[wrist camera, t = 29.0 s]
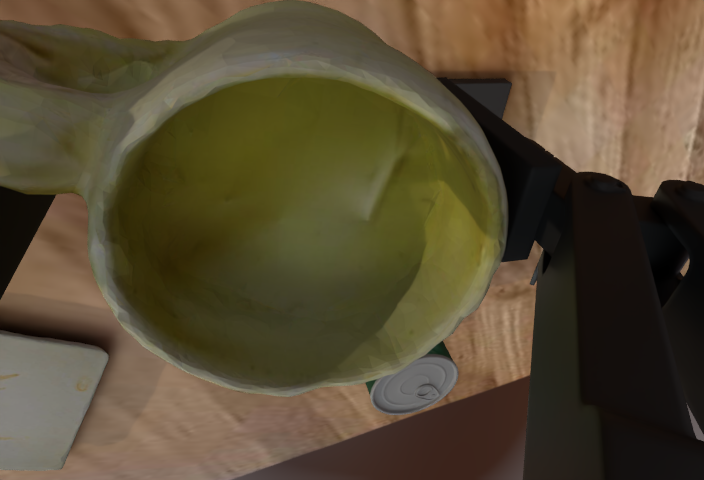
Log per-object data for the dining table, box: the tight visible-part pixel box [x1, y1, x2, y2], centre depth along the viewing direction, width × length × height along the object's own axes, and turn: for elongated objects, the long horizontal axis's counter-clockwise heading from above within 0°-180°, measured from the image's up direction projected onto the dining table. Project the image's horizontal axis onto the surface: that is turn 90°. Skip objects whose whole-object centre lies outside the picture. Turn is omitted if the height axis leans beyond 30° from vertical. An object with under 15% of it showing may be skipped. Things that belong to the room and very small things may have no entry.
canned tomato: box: [366, 341, 458, 415], centre depth 42 cm, size 8×8×11 cm
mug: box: [0, 0, 508, 397], centre depth 12 cm, size 12×10×10 cm
